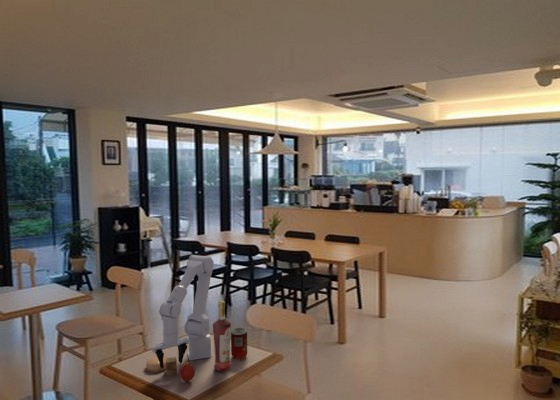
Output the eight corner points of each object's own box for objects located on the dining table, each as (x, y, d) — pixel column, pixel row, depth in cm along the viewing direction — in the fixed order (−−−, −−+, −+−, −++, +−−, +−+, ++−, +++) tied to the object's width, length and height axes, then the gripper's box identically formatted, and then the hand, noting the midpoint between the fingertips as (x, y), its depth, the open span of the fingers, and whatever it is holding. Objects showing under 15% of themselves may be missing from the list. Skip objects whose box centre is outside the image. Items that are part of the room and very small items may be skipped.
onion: (181, 378, 159) (180, 358, 159) (195, 377, 160) (195, 358, 159) (178, 386, 153) (178, 365, 153) (194, 385, 154) (193, 364, 153)
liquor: (223, 375, 162) (222, 306, 160) (209, 370, 165) (208, 303, 164) (235, 367, 168) (234, 300, 166) (221, 363, 172) (220, 298, 170)
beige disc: (168, 360, 175) (168, 354, 174) (169, 370, 166) (169, 364, 166) (146, 363, 172) (146, 358, 171) (146, 373, 163) (146, 367, 163)
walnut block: (176, 369, 166) (175, 356, 166) (177, 374, 163) (176, 361, 162) (166, 371, 165) (165, 358, 165) (166, 376, 161) (166, 362, 161)
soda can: (248, 360, 174) (248, 332, 174) (232, 361, 173) (231, 333, 172) (246, 353, 181) (245, 326, 181) (230, 354, 180) (229, 327, 179)
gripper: (184, 324, 170) (184, 356, 171) (149, 332, 162) (150, 365, 163) (190, 330, 164) (191, 362, 165) (154, 338, 156) (155, 372, 157)
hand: (171, 364), depth 164 cm, fingers open, 7 cm apart
